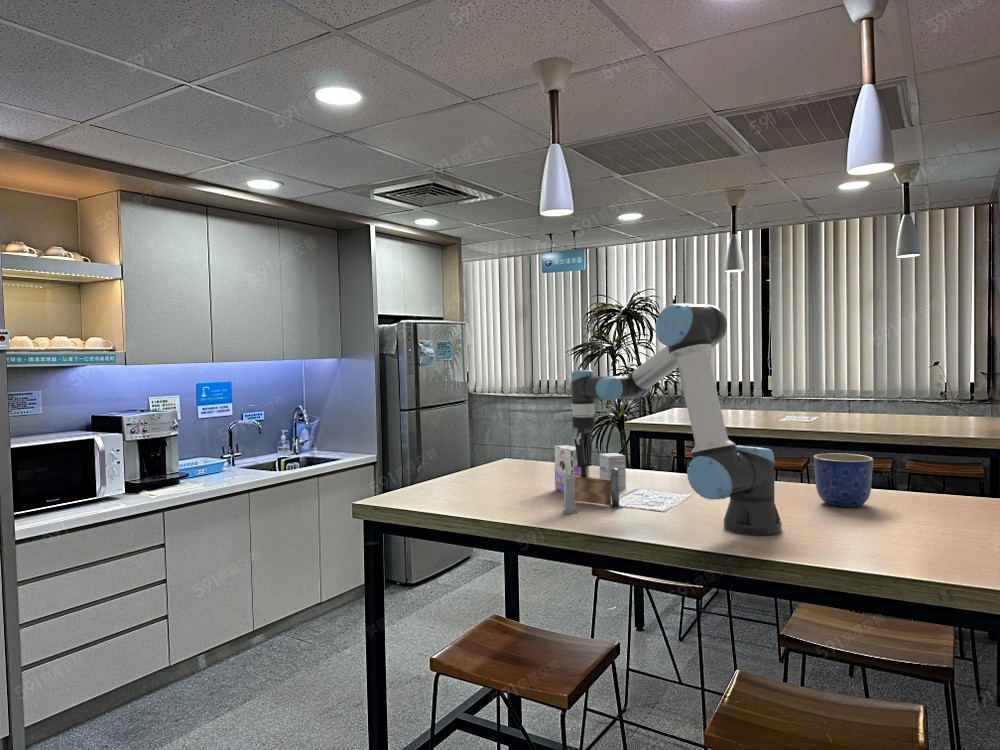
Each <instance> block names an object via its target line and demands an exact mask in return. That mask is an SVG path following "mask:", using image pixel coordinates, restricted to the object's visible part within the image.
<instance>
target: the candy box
mask: <svg viewBox="0 0 1000 750" xmlns="http://www.w3.org/2000/svg"><path fill="white" fill-rule="evenodd" d="M553 449H554V450H553V451H554V456H553V457H554V484H555V487H554V489H556V490H555V491H558V492H560V493H563V494H564V480H563V477H568V476H570V475H573V476H580V467H577V465H578V464H577V454H576V446H573V445H568V444H565V445H564V444H563V445H554V447H553Z"/></svg>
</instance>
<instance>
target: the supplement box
mask: <svg viewBox="0 0 1000 750" xmlns="http://www.w3.org/2000/svg"><path fill="white" fill-rule="evenodd" d="M626 462H627V461H626V455H624V454H620V453H618V452H609V453H608V452H607V453H599V478H601V479H611V470H612V469H614V468H616V469H618V470H619V491H621V490H626V489H627V485H626V484H627V482H626V480H627V478H626V477H627V473H626V470H627V469H626V465H627V464H626ZM611 491H612V489H611Z"/></svg>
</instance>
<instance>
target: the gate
mask: <svg viewBox="0 0 1000 750" xmlns="http://www.w3.org/2000/svg"><path fill="white" fill-rule="evenodd" d="M568 477H574V478H576V481H575V502H582V503H589V504H598V505H602V506H603V505H605V506H608V505H612V490H611V479H601V478H600V477H591V476H589V477H581V476H573V475H570V476H568Z"/></svg>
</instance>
